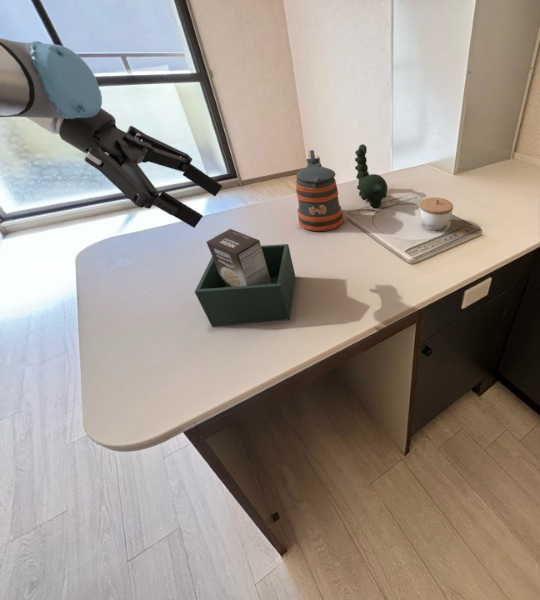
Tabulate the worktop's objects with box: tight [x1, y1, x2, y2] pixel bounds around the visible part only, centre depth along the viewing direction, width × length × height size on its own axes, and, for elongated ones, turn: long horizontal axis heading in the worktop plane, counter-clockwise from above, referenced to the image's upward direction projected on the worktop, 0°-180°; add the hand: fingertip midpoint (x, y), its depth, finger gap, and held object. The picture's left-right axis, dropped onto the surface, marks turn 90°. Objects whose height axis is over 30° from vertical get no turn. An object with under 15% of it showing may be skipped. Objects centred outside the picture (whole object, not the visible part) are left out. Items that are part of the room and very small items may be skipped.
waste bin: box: [194, 243, 296, 328], centre depth 75 cm, size 17×17×10 cm
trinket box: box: [419, 196, 454, 231], centre depth 107 cm, size 11×11×9 cm
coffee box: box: [206, 228, 272, 287], centre depth 72 cm, size 9×6×16 cm
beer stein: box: [295, 149, 344, 232], centre depth 105 cm, size 19×15×20 cm
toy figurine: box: [354, 143, 388, 208], centre depth 118 cm, size 9×19×25 cm
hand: (209, 205), depth 62 cm, fingers open, 13 cm apart
